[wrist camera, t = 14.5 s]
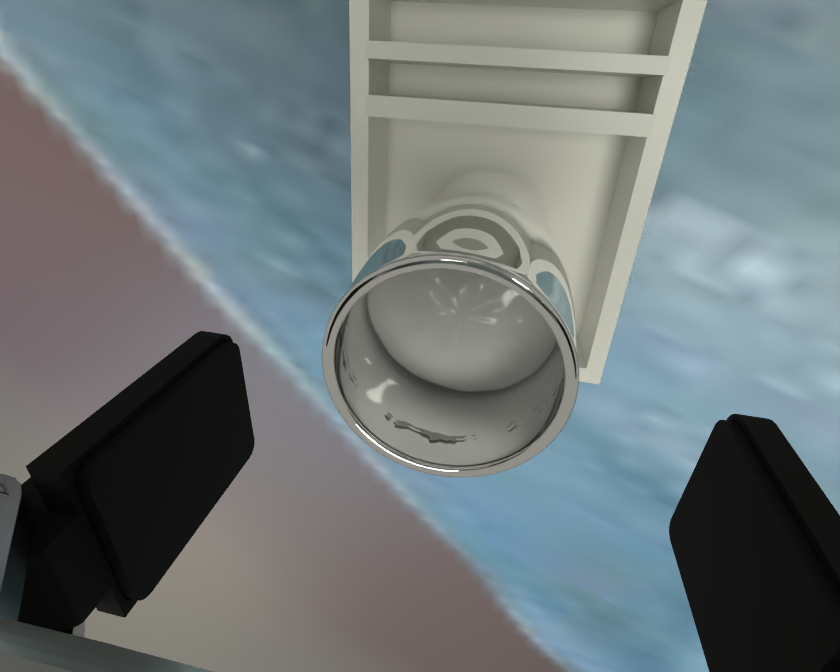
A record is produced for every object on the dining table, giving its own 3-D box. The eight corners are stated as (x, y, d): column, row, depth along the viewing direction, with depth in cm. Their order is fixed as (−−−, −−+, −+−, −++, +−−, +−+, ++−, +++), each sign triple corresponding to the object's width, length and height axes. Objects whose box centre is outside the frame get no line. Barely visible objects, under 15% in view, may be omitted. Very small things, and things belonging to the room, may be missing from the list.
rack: (382, -171, 19) (218, -475, 9) (721, -175, 18) (1012, -563, 7) (375, 313, 30) (295, 435, 19) (588, 342, 28) (627, 494, 17)
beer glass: (464, 130, 23) (389, 184, 10) (582, 208, 24) (656, 353, 11) (397, 247, 26) (275, 401, 13) (502, 312, 27) (482, 521, 14)
